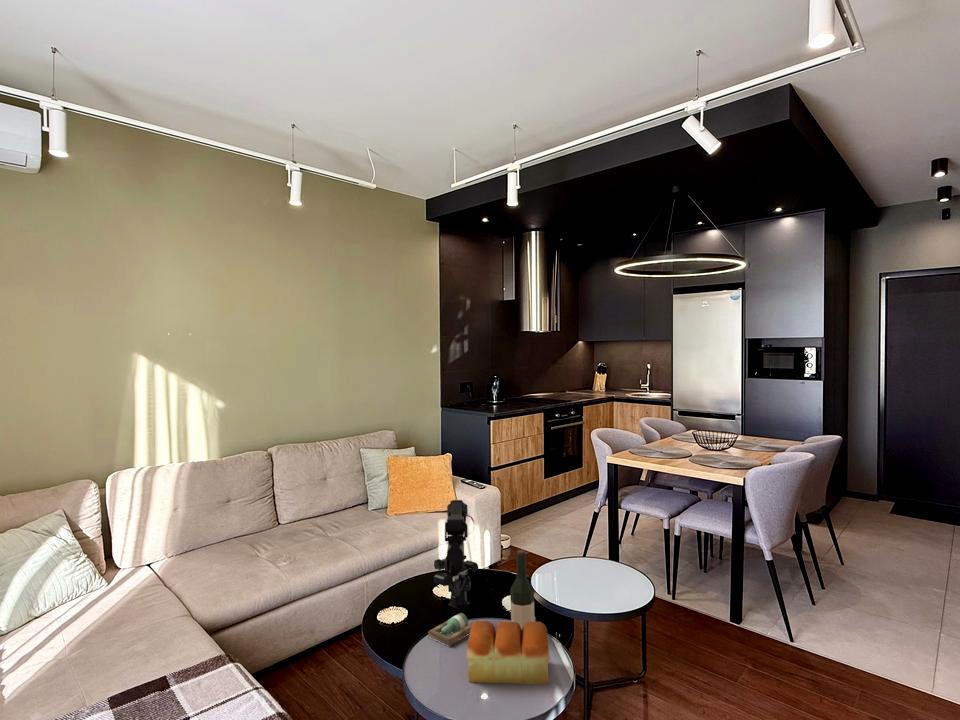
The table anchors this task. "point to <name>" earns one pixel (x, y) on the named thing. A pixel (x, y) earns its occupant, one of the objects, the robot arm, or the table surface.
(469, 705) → the table surface
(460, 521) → the robot arm
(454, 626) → the bottle
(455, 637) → the wooden tray
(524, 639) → the bread
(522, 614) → the wine bottle
